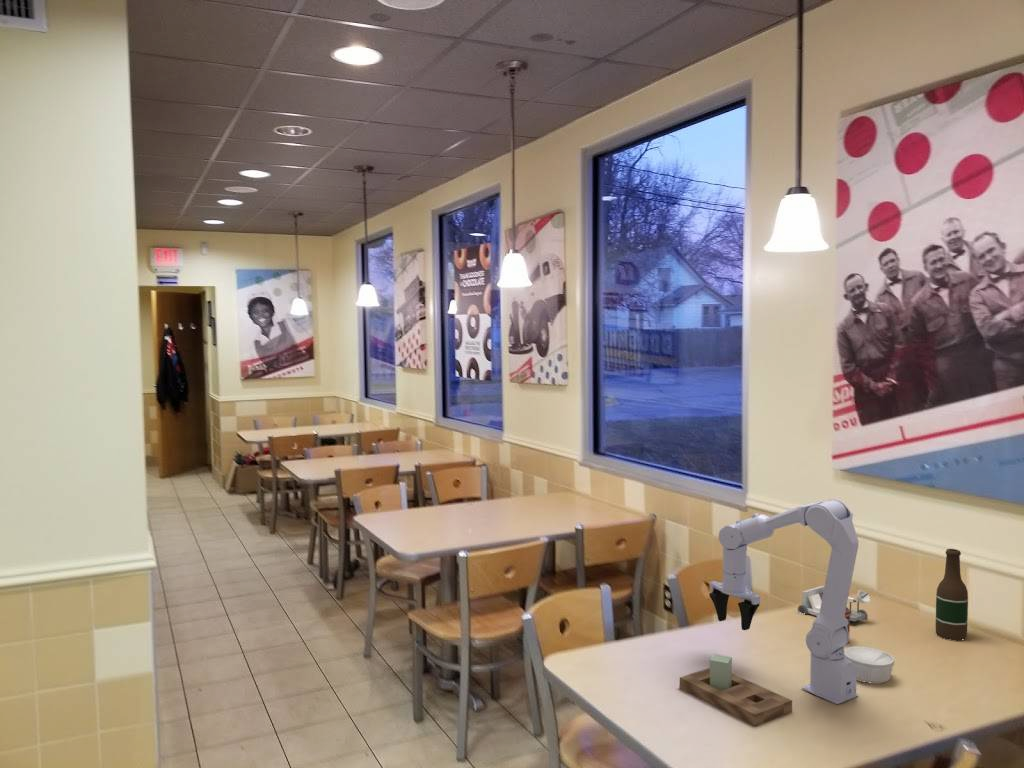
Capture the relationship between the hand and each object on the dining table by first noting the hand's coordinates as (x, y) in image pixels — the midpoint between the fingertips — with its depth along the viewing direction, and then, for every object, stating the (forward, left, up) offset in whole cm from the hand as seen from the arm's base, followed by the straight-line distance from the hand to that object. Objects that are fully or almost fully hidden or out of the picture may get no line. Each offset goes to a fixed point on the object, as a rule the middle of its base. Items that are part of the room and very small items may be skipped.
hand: (733, 624), depth 197 cm
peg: (-11, +16, -10) cm, 22 cm away
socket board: (-15, +16, -9) cm, 24 cm away
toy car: (+6, -51, -10) cm, 52 cm away
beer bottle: (-21, -64, -10) cm, 68 cm away
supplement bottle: (-6, -35, -10) cm, 36 cm away
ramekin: (-24, -21, -10) cm, 33 cm away
